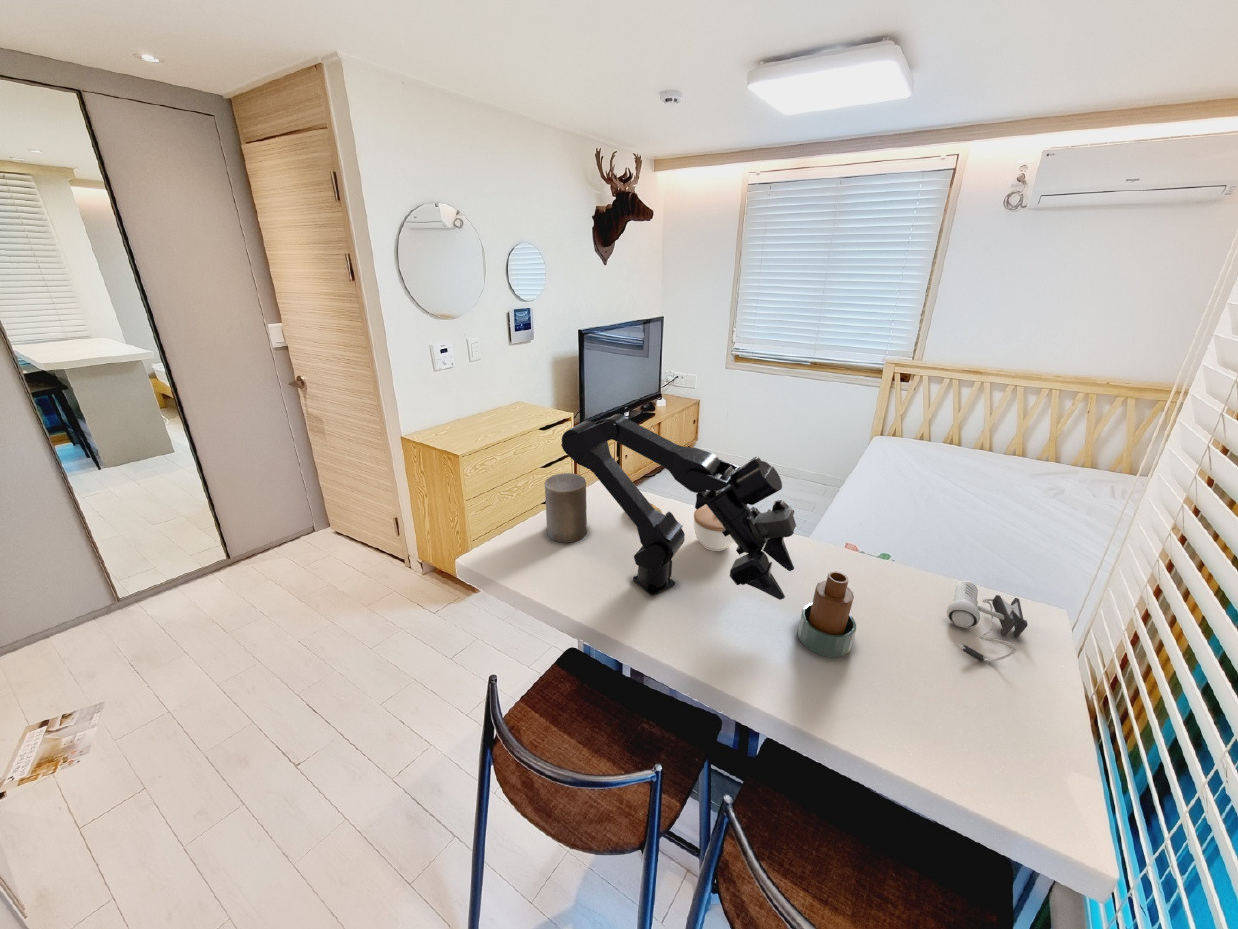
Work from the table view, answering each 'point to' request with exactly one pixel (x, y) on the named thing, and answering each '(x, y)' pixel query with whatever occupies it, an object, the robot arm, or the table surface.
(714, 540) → the trinket box
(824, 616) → the bottle
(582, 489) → the pillar candle
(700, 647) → the table surface
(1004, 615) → the clip-on lamp
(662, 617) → the table surface
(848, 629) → the cup
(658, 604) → the table surface
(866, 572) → the table surface
